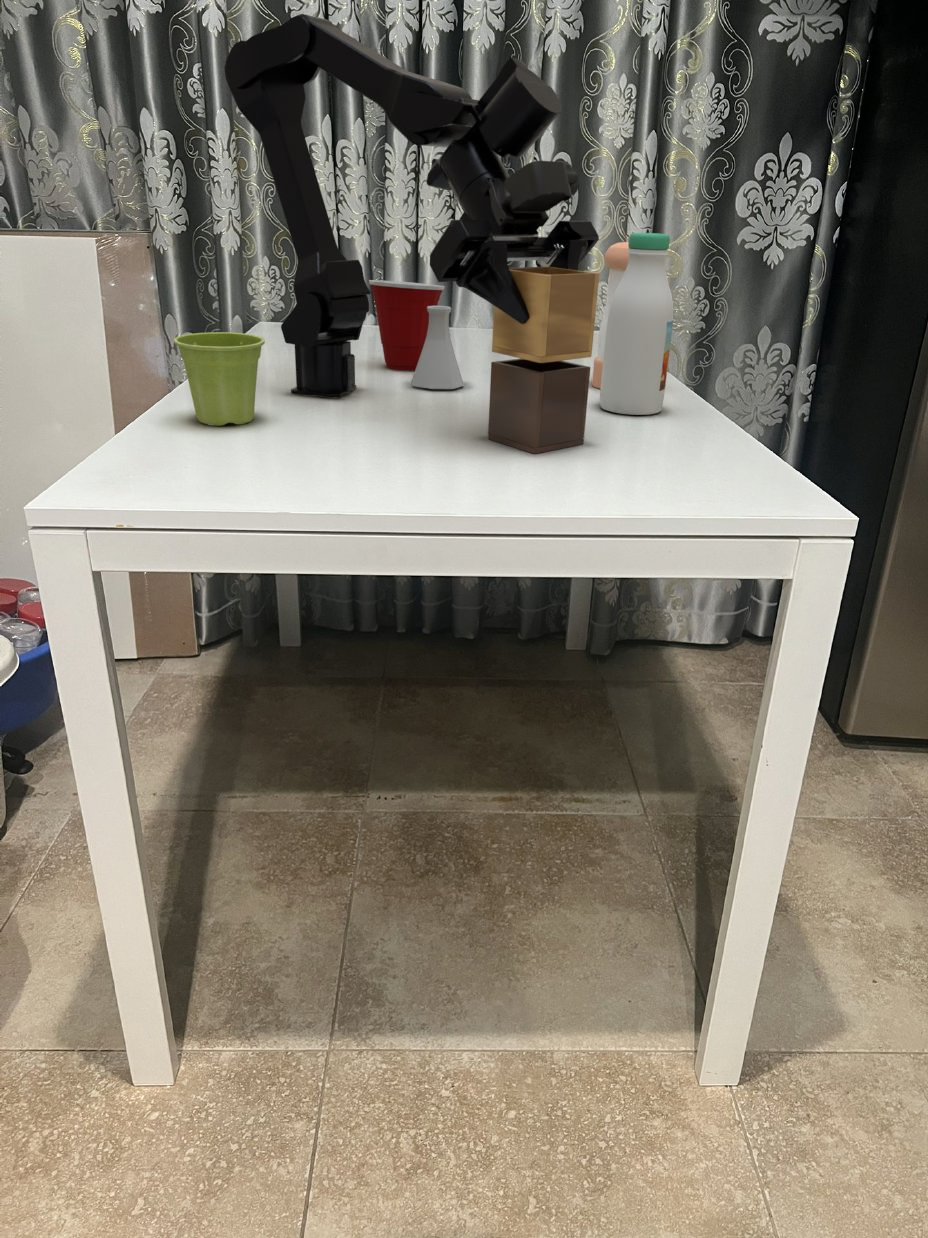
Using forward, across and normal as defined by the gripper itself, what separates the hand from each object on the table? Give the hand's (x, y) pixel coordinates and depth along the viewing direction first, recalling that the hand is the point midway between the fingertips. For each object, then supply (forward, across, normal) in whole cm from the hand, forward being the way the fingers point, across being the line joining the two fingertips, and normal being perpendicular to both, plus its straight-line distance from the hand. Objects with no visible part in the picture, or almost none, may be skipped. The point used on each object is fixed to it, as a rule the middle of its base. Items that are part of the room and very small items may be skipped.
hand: (553, 318), depth 90 cm
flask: (-12, +9, +30) cm, 34 cm away
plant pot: (-10, -23, +28) cm, 38 cm away
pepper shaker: (-3, +31, +21) cm, 37 cm away
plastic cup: (-21, +14, +39) cm, 47 cm away
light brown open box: (+2, 0, +4) cm, 4 cm away
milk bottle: (+5, +21, +14) cm, 25 cm away
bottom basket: (+8, 0, +10) cm, 13 cm away
